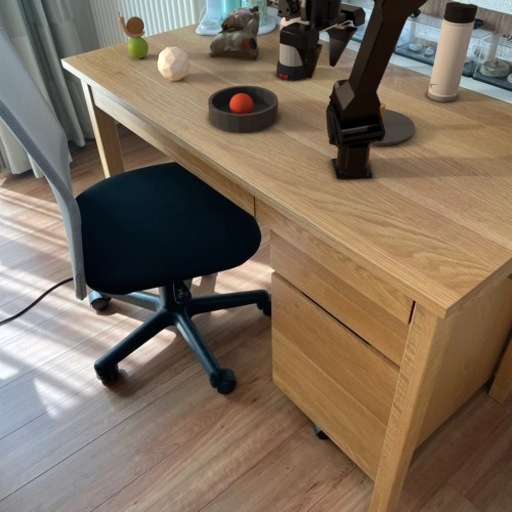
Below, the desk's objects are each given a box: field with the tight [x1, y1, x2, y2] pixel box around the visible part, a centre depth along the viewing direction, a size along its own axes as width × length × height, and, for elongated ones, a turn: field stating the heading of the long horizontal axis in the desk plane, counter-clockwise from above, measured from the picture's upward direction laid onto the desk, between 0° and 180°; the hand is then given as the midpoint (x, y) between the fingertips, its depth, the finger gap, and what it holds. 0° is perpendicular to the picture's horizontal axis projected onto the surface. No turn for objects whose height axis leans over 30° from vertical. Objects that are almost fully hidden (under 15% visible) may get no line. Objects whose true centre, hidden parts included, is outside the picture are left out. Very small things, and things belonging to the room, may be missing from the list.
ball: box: [230, 93, 253, 114], centre depth 111 cm, size 5×5×5 cm
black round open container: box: [207, 85, 279, 134], centre depth 112 cm, size 15×15×4 cm
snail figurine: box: [116, 11, 149, 59], centre depth 137 cm, size 5×6×12 cm
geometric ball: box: [156, 46, 191, 82], centre depth 127 cm, size 8×8×8 cm
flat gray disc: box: [341, 102, 416, 146], centre depth 107 cm, size 15×15×5 cm
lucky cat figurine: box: [206, 5, 261, 59], centre depth 137 cm, size 15×12×14 cm
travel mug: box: [427, 1, 479, 103], centre depth 113 cm, size 6×7×20 cm
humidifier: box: [276, 17, 310, 82], centre depth 123 cm, size 8×8×25 cm
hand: (320, 72), depth 101 cm, fingers open, 7 cm apart
